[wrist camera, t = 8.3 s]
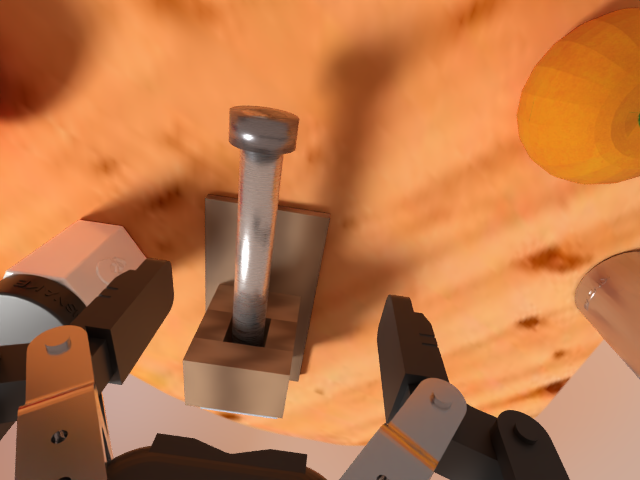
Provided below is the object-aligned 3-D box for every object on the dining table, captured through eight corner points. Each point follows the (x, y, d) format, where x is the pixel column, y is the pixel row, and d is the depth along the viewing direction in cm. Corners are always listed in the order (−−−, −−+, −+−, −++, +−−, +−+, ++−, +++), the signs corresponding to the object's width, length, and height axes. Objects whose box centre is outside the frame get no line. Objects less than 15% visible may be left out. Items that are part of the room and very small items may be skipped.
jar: (162, 274, 40) (99, 359, 29) (104, 294, 41) (25, 380, 31) (111, 206, 36) (18, 276, 25) (49, 230, 37) (-62, 305, 27)
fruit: (499, 176, 32) (558, 227, 24) (504, 31, 27) (584, 28, 18) (640, 151, 31) (759, 196, 22) (678, -9, 25) (856, -33, 17)
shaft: (239, 102, 26) (221, 114, 22) (302, 113, 26) (295, 127, 22) (229, 339, 38) (216, 375, 34) (272, 345, 38) (264, 381, 34)
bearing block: (330, 213, 35) (327, 284, 25) (299, 375, 47) (288, 466, 37) (208, 194, 34) (155, 258, 24) (208, 362, 46) (173, 451, 36)
